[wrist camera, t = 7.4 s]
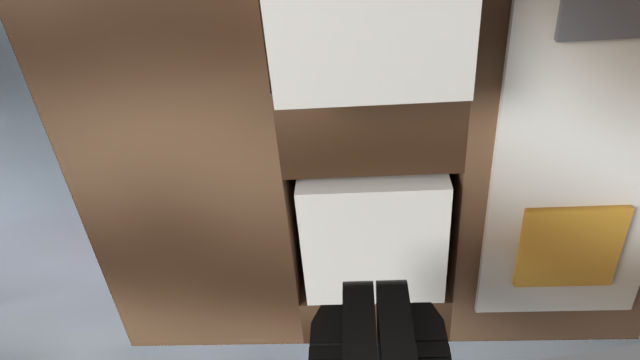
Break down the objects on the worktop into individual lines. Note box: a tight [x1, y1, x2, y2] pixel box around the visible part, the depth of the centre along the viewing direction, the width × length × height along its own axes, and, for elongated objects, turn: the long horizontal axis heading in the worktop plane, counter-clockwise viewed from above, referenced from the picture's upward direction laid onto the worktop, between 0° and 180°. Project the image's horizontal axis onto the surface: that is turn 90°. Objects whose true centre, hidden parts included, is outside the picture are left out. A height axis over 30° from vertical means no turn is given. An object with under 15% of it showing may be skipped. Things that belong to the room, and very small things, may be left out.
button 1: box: [294, 174, 453, 306], centre depth 15 cm, size 4×4×2 cm
